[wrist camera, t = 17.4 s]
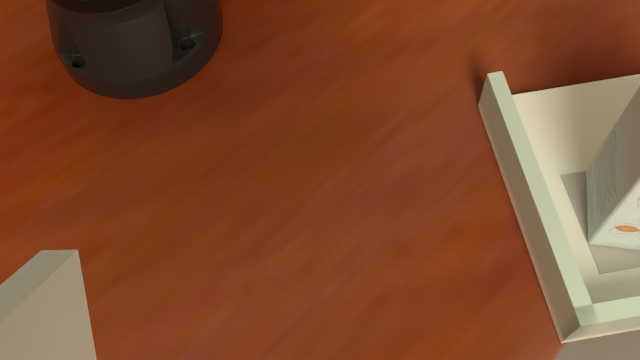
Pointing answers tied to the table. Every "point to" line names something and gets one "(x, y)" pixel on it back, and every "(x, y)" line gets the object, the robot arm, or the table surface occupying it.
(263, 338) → the table surface
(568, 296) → the tray
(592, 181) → the small box
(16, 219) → the table surface
